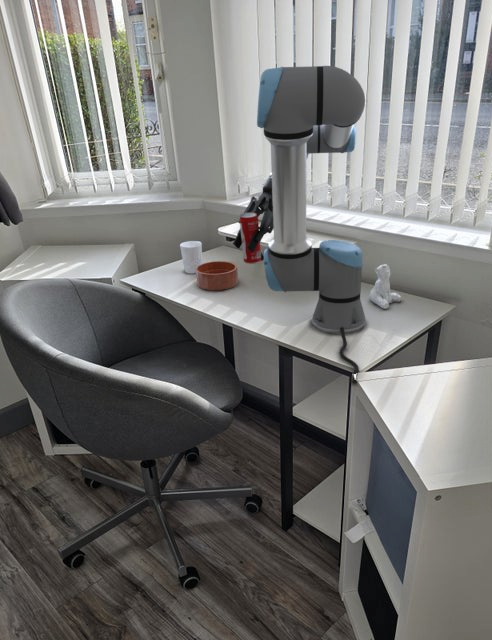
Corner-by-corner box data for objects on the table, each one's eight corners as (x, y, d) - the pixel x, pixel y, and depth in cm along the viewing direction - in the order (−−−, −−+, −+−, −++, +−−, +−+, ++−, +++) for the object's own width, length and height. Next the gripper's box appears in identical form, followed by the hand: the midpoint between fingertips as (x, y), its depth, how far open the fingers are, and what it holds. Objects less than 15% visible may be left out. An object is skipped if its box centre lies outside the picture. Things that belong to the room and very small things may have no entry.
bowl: (232, 292, 182) (230, 275, 178) (192, 290, 184) (190, 273, 181) (242, 278, 193) (241, 261, 190) (204, 276, 196) (202, 260, 193)
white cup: (179, 273, 200) (176, 246, 194) (188, 266, 206) (185, 240, 201) (199, 274, 198) (196, 247, 192) (207, 268, 204) (204, 241, 199)
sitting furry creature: (385, 310, 164) (388, 272, 158) (362, 303, 169) (364, 266, 163) (402, 301, 170) (406, 263, 164) (379, 294, 175) (382, 258, 169)
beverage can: (262, 258, 176) (259, 211, 168) (260, 264, 170) (257, 216, 162) (244, 258, 176) (240, 211, 169) (241, 265, 171) (237, 216, 163)
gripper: (306, 195, 166) (270, 260, 165) (264, 188, 178) (230, 249, 177) (294, 179, 160) (256, 246, 160) (251, 173, 172) (216, 236, 171)
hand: (242, 247), depth 168 cm, fingers closed on beverage can, 6 cm apart
